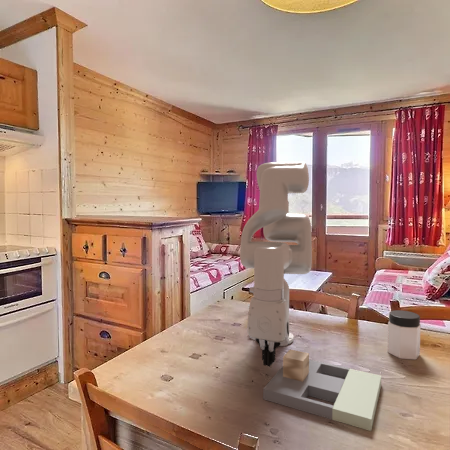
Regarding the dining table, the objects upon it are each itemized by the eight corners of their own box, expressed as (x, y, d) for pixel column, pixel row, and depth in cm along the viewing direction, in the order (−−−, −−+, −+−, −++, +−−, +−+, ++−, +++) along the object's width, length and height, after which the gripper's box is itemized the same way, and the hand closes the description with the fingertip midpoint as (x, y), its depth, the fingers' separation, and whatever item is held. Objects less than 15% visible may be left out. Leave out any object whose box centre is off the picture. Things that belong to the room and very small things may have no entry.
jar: (392, 345, 109) (393, 308, 109) (421, 352, 104) (422, 313, 103) (384, 354, 103) (385, 315, 102) (415, 362, 97) (416, 321, 97)
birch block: (283, 376, 85) (283, 356, 84) (289, 368, 89) (289, 349, 89) (303, 381, 82) (303, 361, 82) (308, 372, 87) (309, 353, 86)
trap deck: (263, 399, 79) (263, 388, 79) (291, 364, 97) (291, 355, 96) (371, 431, 68) (371, 418, 68) (381, 385, 85) (381, 375, 85)
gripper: (236, 293, 89) (236, 363, 90) (292, 301, 81) (291, 377, 82) (248, 287, 95) (248, 352, 96) (301, 294, 88) (301, 364, 89)
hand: (268, 363), depth 89 cm, fingers closed
